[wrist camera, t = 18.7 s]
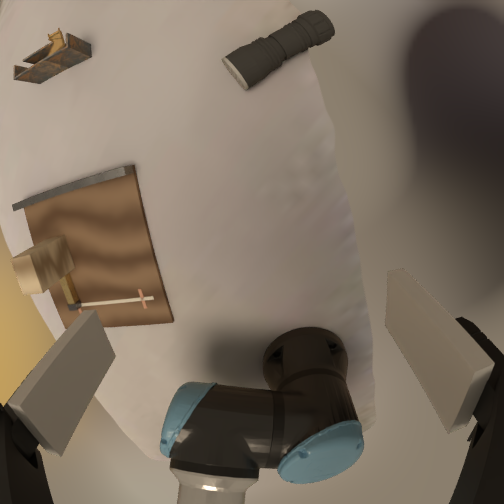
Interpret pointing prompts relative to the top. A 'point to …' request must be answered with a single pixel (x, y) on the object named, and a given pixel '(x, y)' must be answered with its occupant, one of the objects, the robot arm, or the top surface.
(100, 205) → the board
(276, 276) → the top surface
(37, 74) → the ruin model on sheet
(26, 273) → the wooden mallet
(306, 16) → the flashlight
